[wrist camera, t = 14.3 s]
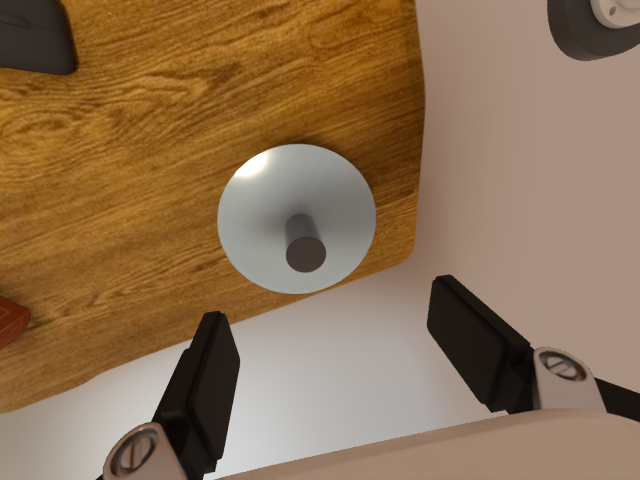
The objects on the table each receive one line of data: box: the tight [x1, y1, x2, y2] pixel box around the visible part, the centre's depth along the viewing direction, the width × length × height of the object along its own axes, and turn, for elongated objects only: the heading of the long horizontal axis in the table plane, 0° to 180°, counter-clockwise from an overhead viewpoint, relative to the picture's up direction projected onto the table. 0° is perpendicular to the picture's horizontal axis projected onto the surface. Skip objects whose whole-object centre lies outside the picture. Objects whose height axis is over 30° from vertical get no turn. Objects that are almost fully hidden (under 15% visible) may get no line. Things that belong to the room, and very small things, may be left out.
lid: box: [217, 144, 376, 294], centre depth 21 cm, size 15×15×7 cm
